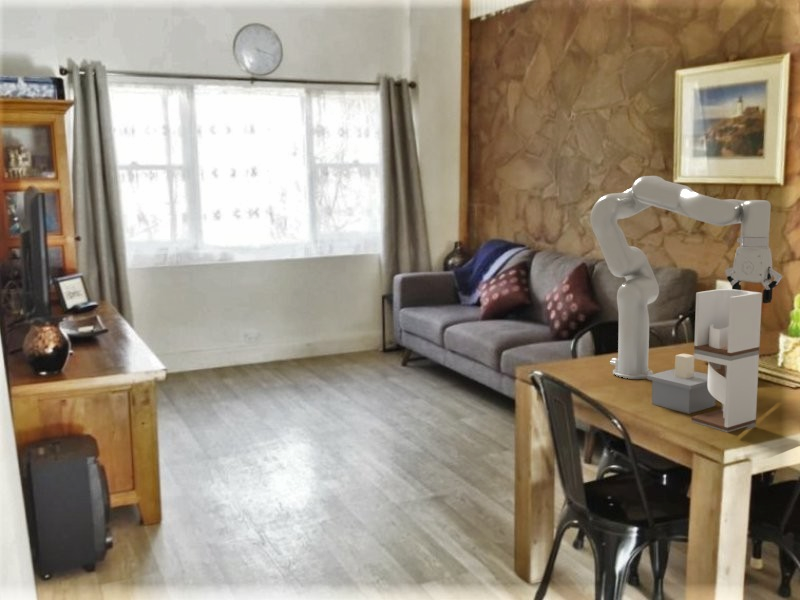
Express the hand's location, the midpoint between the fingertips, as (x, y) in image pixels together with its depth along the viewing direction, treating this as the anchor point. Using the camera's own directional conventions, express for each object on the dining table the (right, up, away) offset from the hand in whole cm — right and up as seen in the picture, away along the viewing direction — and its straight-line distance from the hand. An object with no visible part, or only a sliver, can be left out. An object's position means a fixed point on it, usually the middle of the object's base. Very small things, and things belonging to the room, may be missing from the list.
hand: (751, 300), depth 225 cm
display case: (-20, -33, -27) cm, 46 cm away
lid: (-24, -23, -11) cm, 35 cm away
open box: (-24, -30, -10) cm, 40 cm away
